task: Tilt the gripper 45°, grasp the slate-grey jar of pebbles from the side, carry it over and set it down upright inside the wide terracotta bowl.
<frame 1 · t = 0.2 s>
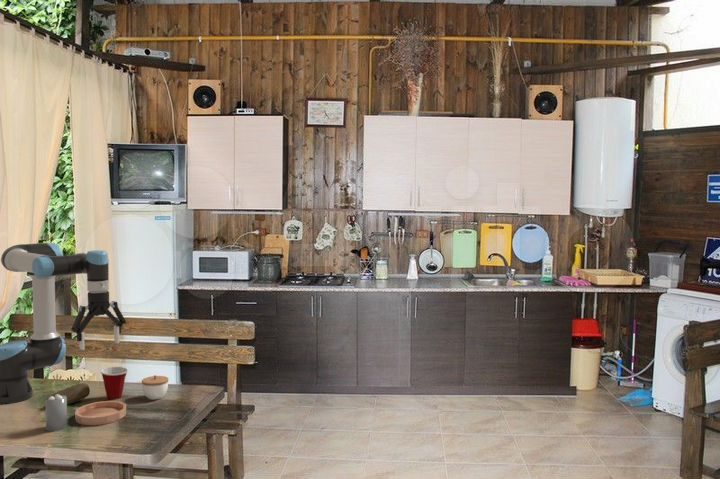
hand: (99, 345, 228), 28 cm above the table, tool pointing down, fingers open, 13 cm apart
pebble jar: (56, 427, 218), on the table
stone weight: (70, 403, 245), on the table
lidded jar: (155, 397, 252), on the table
plastic cup: (115, 397, 252), on the table
terracotta bowl: (101, 416, 230), on the table
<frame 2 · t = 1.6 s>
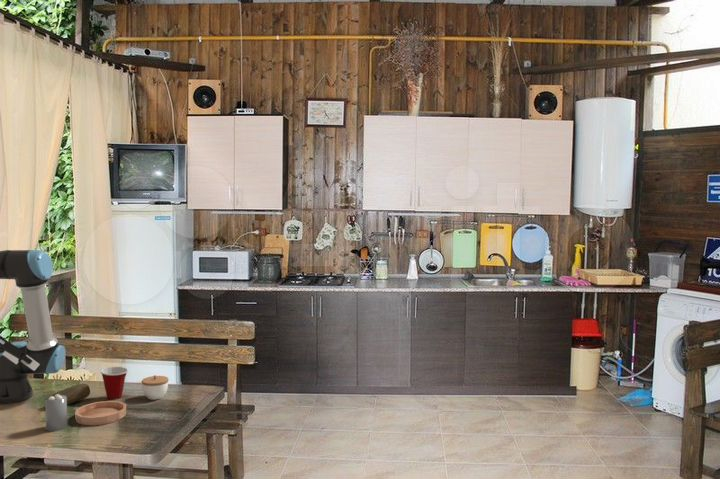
hand: (27, 364, 209), 26 cm above the table, tool tilted 45°, fingers open, 13 cm apart
nothing on the table moved.
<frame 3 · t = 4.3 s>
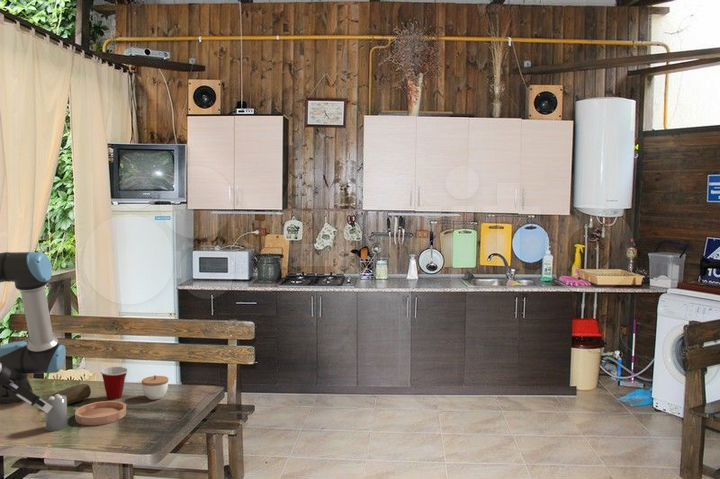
hand: (41, 405, 213), 10 cm above the table, tool tilted 45°, fingers open, 13 cm apart
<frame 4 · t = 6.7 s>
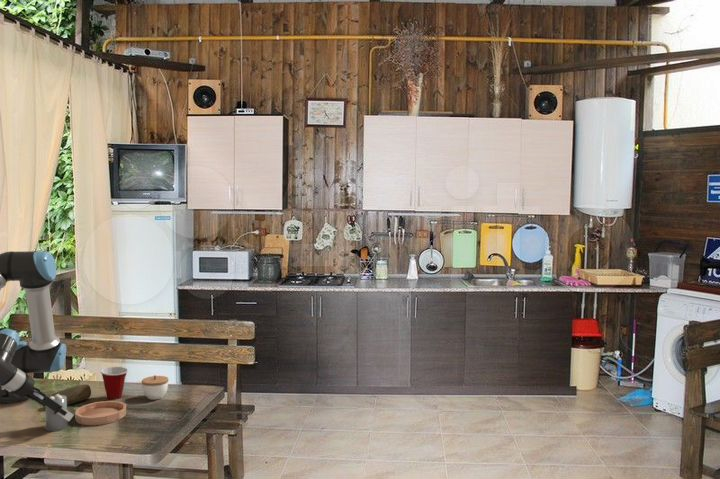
hand: (66, 415, 221), 4 cm above the table, tool tilted 45°, fingers closed on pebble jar, 7 cm apart
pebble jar: (56, 427, 218), on the table, touching gripper
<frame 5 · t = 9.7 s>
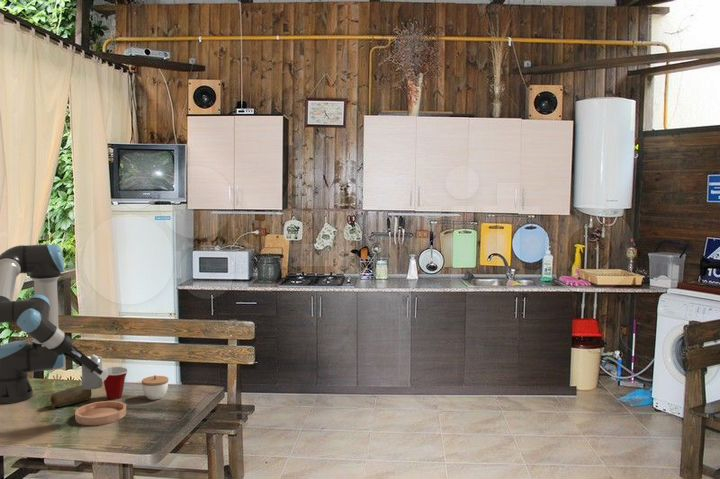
hand: (101, 375, 228), 16 cm above the table, tool tilted 45°, fingers closed on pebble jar, 7 cm apart
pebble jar: (92, 386, 226), point 13 cm above the table, touching gripper
when the fingers open (5 cm above the table, at t = 12.6 s): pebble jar stays where it is, resting on terracotta bowl.
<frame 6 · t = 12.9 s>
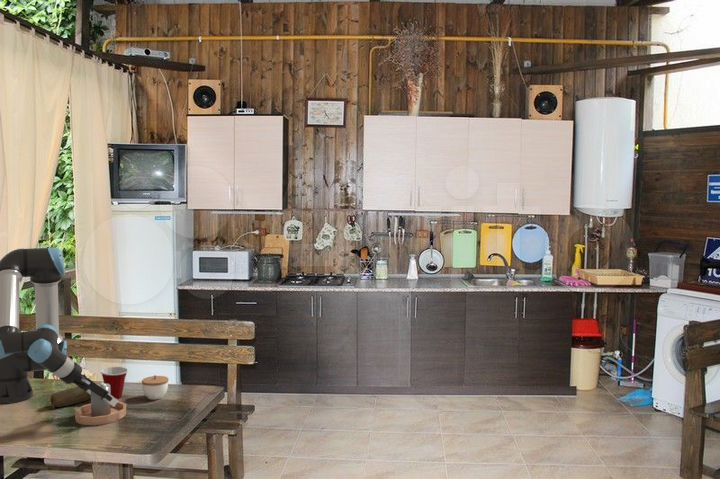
hand: (108, 400, 231), 6 cm above the table, tool tilted 45°, fingers open, 11 cm apart
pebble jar: (101, 414, 230), point 1 cm above the table, touching terracotta bowl
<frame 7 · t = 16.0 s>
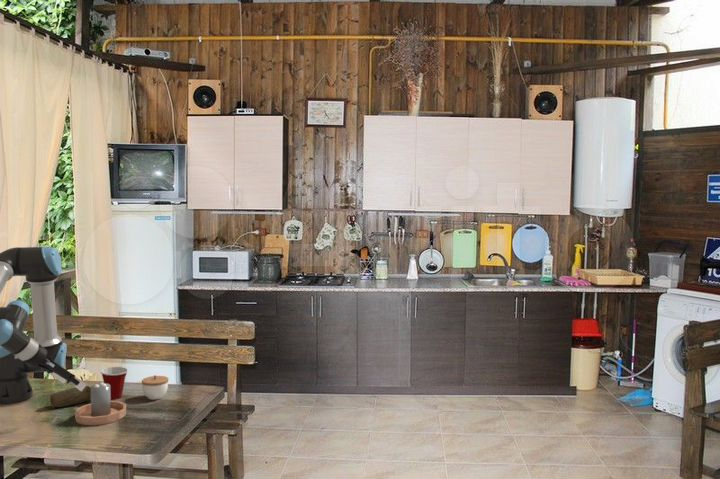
hand: (74, 384, 221), 15 cm above the table, tool tilted 45°, fingers open, 13 cm apart
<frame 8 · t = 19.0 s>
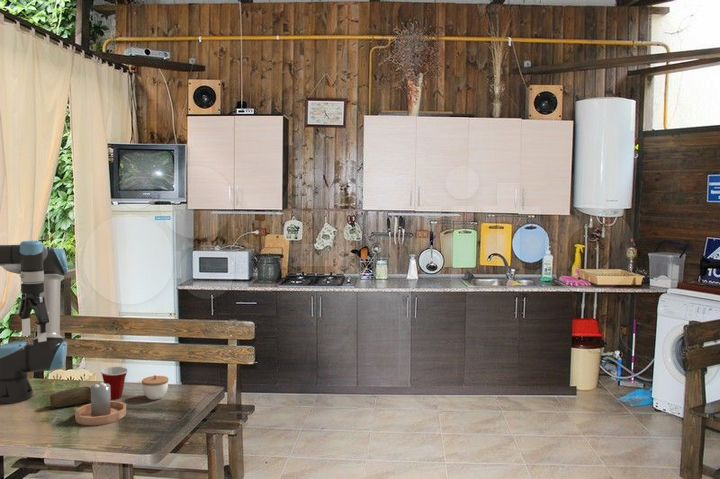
hand: (34, 338, 222), 32 cm above the table, tool pointing down, fingers open, 13 cm apart
at the end: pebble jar inside the target area on the terracotta bowl (0.1 cm from its centre), point 1.0 cm above the terracotta bowl's base; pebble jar tilted 0°; the gripper is holding nothing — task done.
